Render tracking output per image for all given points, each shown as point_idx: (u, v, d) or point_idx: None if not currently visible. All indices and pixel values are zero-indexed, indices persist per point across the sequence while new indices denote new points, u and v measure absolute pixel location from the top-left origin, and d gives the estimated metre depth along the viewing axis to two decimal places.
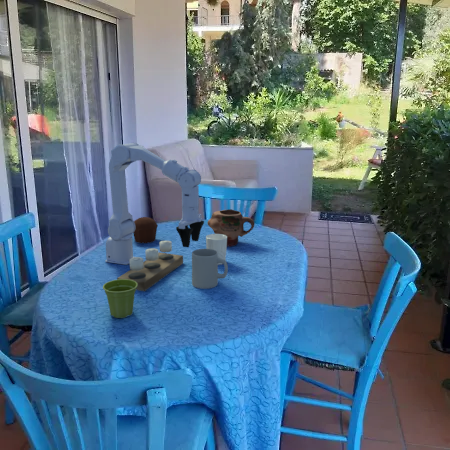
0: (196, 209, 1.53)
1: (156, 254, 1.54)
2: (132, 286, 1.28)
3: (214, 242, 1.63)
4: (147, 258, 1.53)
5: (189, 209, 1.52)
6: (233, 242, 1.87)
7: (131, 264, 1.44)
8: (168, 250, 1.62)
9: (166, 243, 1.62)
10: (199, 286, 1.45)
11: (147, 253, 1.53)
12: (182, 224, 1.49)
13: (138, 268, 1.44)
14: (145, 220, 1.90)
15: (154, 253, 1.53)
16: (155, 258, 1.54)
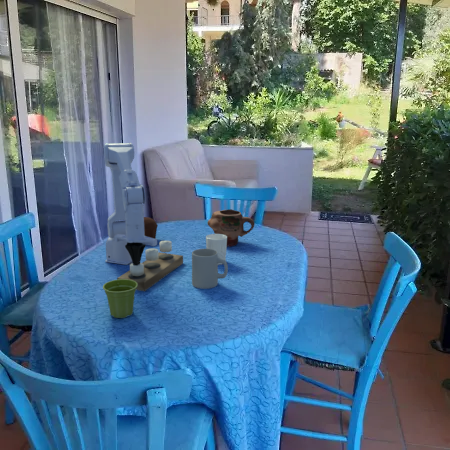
0: (128, 228, 1.40)
1: (156, 254, 1.54)
2: (132, 286, 1.28)
3: (214, 242, 1.63)
4: (147, 258, 1.53)
5: None
6: (233, 242, 1.87)
7: (131, 269, 1.45)
8: (168, 250, 1.62)
9: (166, 243, 1.62)
10: (199, 286, 1.45)
11: (147, 253, 1.53)
12: None
13: (138, 273, 1.45)
14: (145, 220, 1.90)
15: (154, 253, 1.53)
16: (155, 258, 1.54)
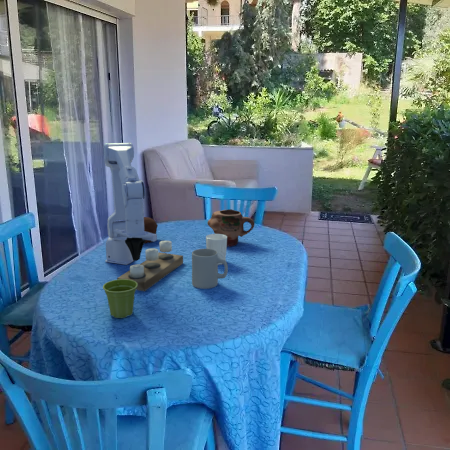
0: (127, 223, 1.40)
1: (156, 254, 1.54)
2: (132, 286, 1.28)
3: (214, 242, 1.63)
4: (147, 258, 1.53)
5: None
6: (233, 242, 1.87)
7: (131, 271, 1.45)
8: (168, 250, 1.62)
9: (166, 243, 1.62)
10: (199, 286, 1.45)
11: (147, 253, 1.53)
12: None
13: (138, 275, 1.45)
14: (145, 220, 1.90)
15: (154, 253, 1.53)
16: (155, 258, 1.54)
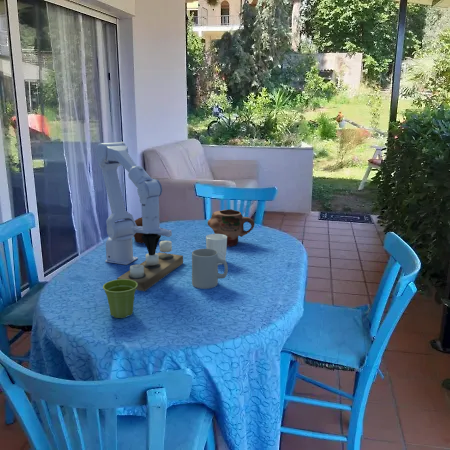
0: (144, 220, 1.49)
1: (156, 258, 1.54)
2: (132, 286, 1.28)
3: (214, 242, 1.63)
4: (147, 263, 1.54)
5: None
6: (233, 242, 1.87)
7: (131, 271, 1.45)
8: (168, 250, 1.62)
9: (166, 243, 1.62)
10: (199, 286, 1.45)
11: (147, 257, 1.53)
12: None
13: (138, 275, 1.45)
14: None
15: (154, 257, 1.53)
16: (155, 263, 1.54)
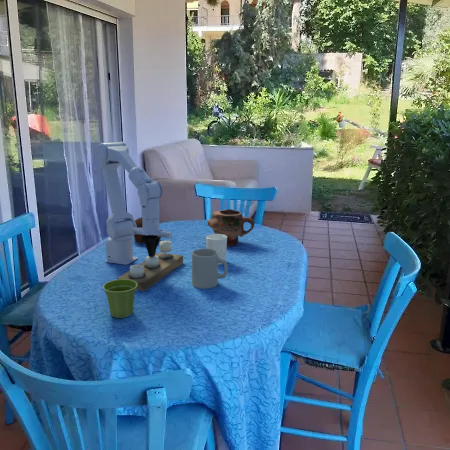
0: (144, 221, 1.50)
1: (156, 261, 1.54)
2: (132, 286, 1.28)
3: (214, 242, 1.63)
4: (147, 265, 1.54)
5: None
6: (233, 242, 1.87)
7: (131, 271, 1.45)
8: (168, 250, 1.62)
9: (166, 243, 1.62)
10: (199, 286, 1.45)
11: (147, 260, 1.54)
12: None
13: (138, 275, 1.45)
14: None
15: (154, 260, 1.54)
16: (156, 265, 1.54)
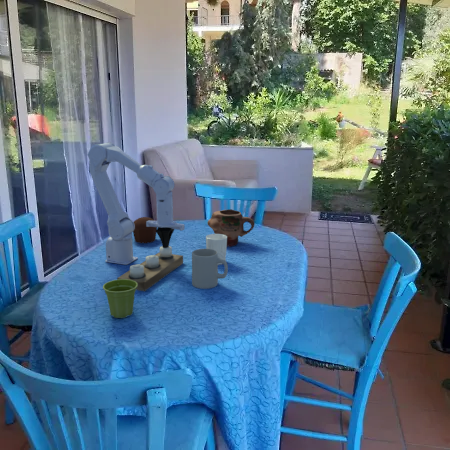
0: (159, 214, 1.59)
1: (156, 261, 1.54)
2: (132, 286, 1.28)
3: (214, 242, 1.63)
4: (147, 265, 1.54)
5: None
6: (233, 242, 1.87)
7: (131, 271, 1.45)
8: (168, 255, 1.63)
9: (166, 248, 1.63)
10: (199, 286, 1.45)
11: (147, 260, 1.54)
12: None
13: (138, 275, 1.45)
14: (145, 220, 1.90)
15: (154, 260, 1.54)
16: (156, 265, 1.54)
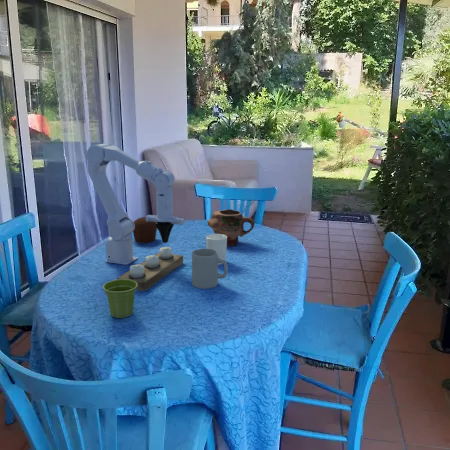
0: (158, 209, 1.58)
1: (156, 261, 1.54)
2: (132, 286, 1.28)
3: (214, 242, 1.63)
4: (147, 265, 1.54)
5: None
6: (233, 242, 1.87)
7: (131, 271, 1.45)
8: (168, 257, 1.63)
9: (166, 250, 1.63)
10: (199, 286, 1.45)
11: (147, 260, 1.54)
12: None
13: (138, 275, 1.45)
14: (145, 220, 1.90)
15: (154, 260, 1.54)
16: (156, 265, 1.54)
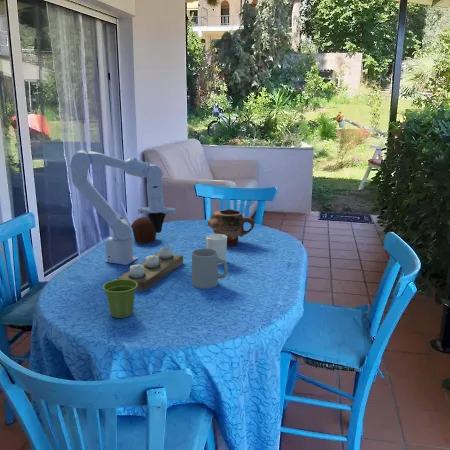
0: (150, 200, 1.65)
1: (156, 261, 1.54)
2: (132, 286, 1.28)
3: (214, 242, 1.63)
4: (147, 265, 1.54)
5: (148, 199, 1.67)
6: (233, 242, 1.87)
7: (131, 271, 1.45)
8: (168, 257, 1.63)
9: (166, 250, 1.63)
10: (199, 286, 1.45)
11: (147, 260, 1.54)
12: None
13: (138, 275, 1.45)
14: (145, 220, 1.90)
15: (154, 260, 1.54)
16: (156, 265, 1.54)
